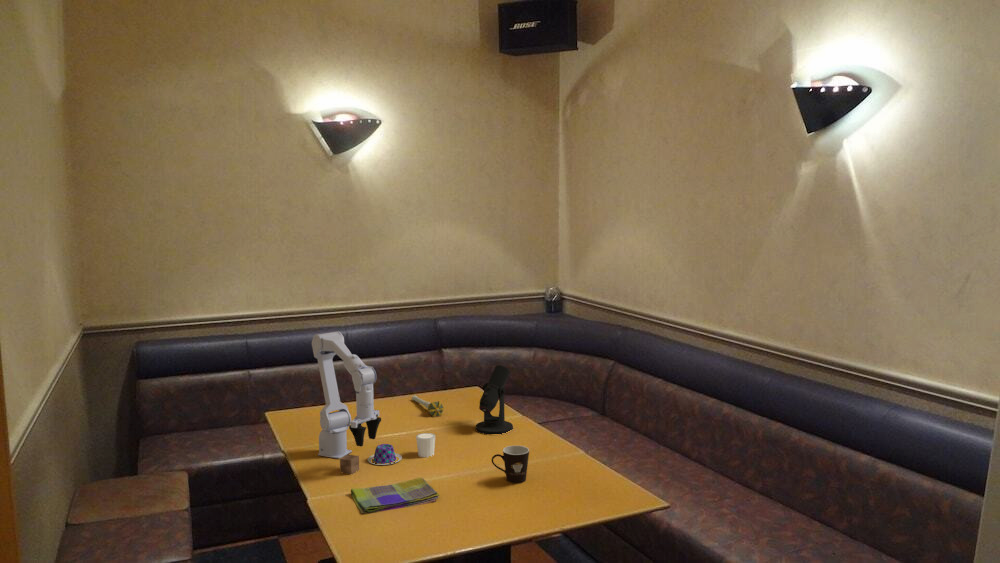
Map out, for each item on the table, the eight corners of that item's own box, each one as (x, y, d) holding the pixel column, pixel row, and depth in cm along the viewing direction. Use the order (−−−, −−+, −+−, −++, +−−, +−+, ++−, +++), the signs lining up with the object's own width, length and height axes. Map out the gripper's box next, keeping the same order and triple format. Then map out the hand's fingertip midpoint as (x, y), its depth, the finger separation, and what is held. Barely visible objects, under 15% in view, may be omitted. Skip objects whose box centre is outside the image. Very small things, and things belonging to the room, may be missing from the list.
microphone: (521, 426, 293) (521, 365, 290) (498, 438, 278) (498, 374, 275) (490, 420, 301) (490, 360, 298) (466, 431, 286) (466, 369, 283)
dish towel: (349, 494, 228) (349, 486, 228) (424, 482, 237) (423, 474, 237) (362, 517, 212) (361, 507, 212) (441, 502, 221) (441, 494, 221)
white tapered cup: (432, 458, 257) (432, 439, 256) (414, 457, 258) (413, 438, 257) (438, 451, 264) (437, 433, 263) (419, 450, 265) (419, 432, 264)
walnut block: (340, 473, 244) (339, 458, 244) (348, 468, 248) (347, 454, 248) (351, 475, 242) (351, 460, 242) (359, 470, 247) (358, 456, 246)
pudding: (379, 469, 248) (378, 454, 247) (361, 460, 257) (360, 445, 256) (408, 461, 256) (408, 446, 255) (390, 452, 265) (389, 438, 264)
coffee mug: (532, 476, 240) (532, 447, 239) (524, 486, 232) (524, 456, 231) (499, 472, 244) (499, 443, 243) (490, 481, 236) (490, 451, 235)
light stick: (421, 390, 331) (446, 401, 305) (421, 404, 332) (447, 417, 305) (406, 392, 328) (430, 404, 302) (407, 406, 329) (431, 419, 302)
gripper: (363, 410, 236) (364, 450, 238) (386, 398, 249) (387, 437, 251) (344, 408, 239) (346, 448, 241) (369, 396, 252) (369, 434, 254)
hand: (366, 442), depth 246 cm, fingers open, 7 cm apart
